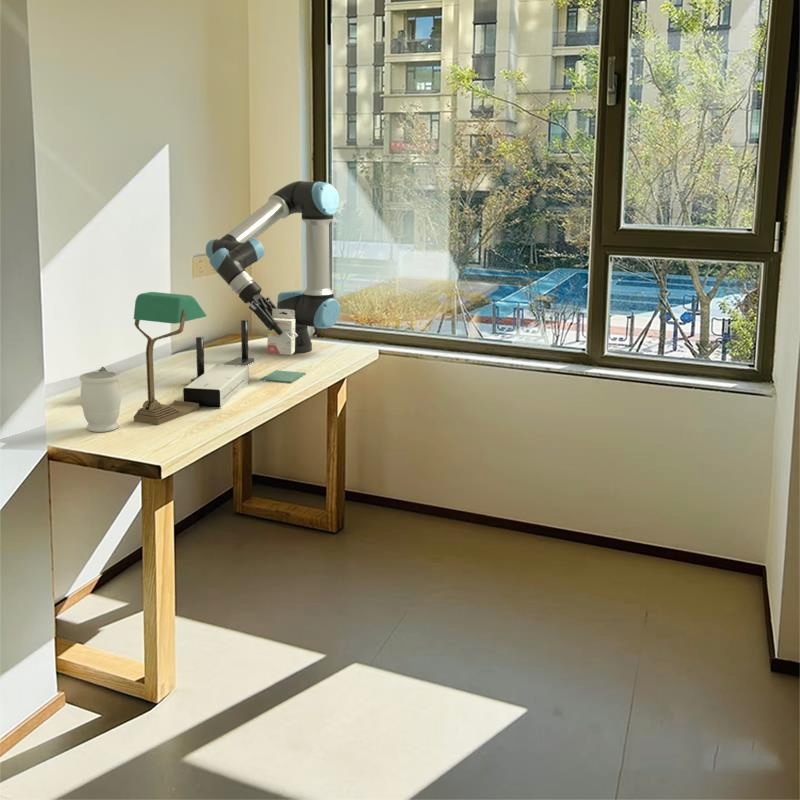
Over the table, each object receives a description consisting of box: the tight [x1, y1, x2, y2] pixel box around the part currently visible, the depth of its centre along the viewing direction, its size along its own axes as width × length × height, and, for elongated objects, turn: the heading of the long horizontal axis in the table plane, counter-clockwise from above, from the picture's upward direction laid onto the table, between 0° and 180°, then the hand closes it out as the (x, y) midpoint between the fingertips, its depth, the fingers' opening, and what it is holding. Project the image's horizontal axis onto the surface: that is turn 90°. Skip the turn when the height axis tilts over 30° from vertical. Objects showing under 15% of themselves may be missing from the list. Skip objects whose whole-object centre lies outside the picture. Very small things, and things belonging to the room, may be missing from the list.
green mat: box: [260, 369, 306, 384], centre depth 318 cm, size 14×11×1 cm
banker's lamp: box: [133, 291, 208, 426], centre depth 264 cm, size 16×21×35 cm
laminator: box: [182, 363, 250, 408], centre depth 293 cm, size 34×12×6 cm, turn 174°
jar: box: [79, 370, 122, 433], centre depth 252 cm, size 11×10×15 cm
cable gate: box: [190, 319, 255, 383], centre depth 321 cm, size 38×6×16 cm, turn 166°
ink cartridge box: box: [267, 309, 295, 356], centre depth 313 cm, size 9×5×15 cm, turn 81°
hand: (291, 339), depth 313 cm, fingers closed on ink cartridge box, 5 cm apart
